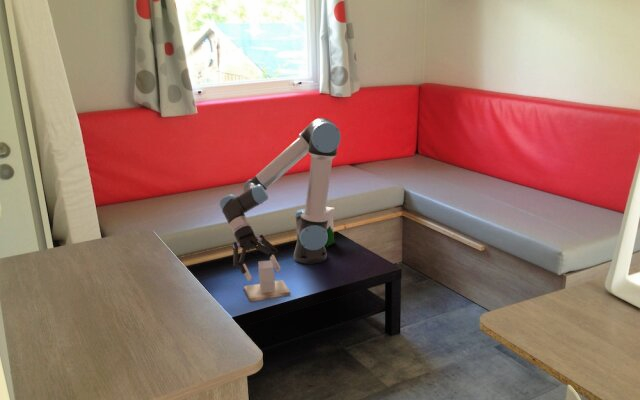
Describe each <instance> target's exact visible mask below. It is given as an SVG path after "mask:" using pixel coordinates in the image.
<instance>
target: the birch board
mask: <svg viewBox="0 0 640 400" xmlns="http://www.w3.org/2000/svg"><path fill="white" fill-rule="evenodd" d="M243 290H244V292H245V294H246V296H247V298H248V300H249V302H250V303H252V302H256V301H263V300H267V299H273V298H274V299H275V298H278V297H285V296H290V295H291V291H290V289H289V287H288V285H286V283H285V282H284V280H283V279H281V280H280V279H279V280H275V292H269V293H261V288H260V283H257V284H250V285H244V286H243Z"/></svg>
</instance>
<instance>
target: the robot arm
mask: <svg viewBox="0 0 640 400" xmlns="http://www.w3.org/2000/svg"><path fill="white" fill-rule="evenodd" d="M341 139H342V138H341V132H340V128H338V126H337V125H336V124H335V123H334V122H333V121H332V120H330V119H328V118H326V117H319V118H316V119H314V120H313V121H311V123H309V124H308V125H307V126H306V127H305V128H304V129H303V130H302V131H301V132H300V133H299V135H298V137H297V138H296V140H294V141H293V142H292V143H291V144H290V145H289V146H287V147H286V148H285V149H284V150H283V151H282V152H281V153H279V155H277V156H276V157H275V158H274V159H273V160H272V161H270V163H268V164H267V165H266V166H265V167H264V168H263V169H261V171H259V172H258V173H257V174H256V175H255V176H254V177H253V178H251V179H248V180H247V181H245V183H244V185H243V192H242V193H241V194H239V195H238V196H236V195H235V194H228V195H225V196H224V197H222V198H221V199H220V200H219V206H220V208H221V212H222V214H223V215H224V217H225V218H226V221H227V223H228V225H229V227H230V229H231V231H232V233H233V235H234V238H235V239H236V241H237V242H236V241H234V242H233V244H232V245H231V247H232V250H233V251H232V253H233V254H232V256H233V259H232V261H233V262H232V266H233V268H237V269H240V272H241V274H242V275H244V277H245V278H246V280H247V282H251V280H252V279H253V277H252V275H251V273H250V271H249V269H248V267H247V265H246V263H244V259H245V258H246V257H245V256H246V253H247V252H251V251H252V250H253V251H254V250H258V251H260V252H262V253H264V254H265V255H267V256H269V260H272V264H273V267H274V270H275V271H276V272H279V271H280V270H281V269H282V268H281V265H280V264H279V259H278V257H277V253H278V252H279V250H278V248H276V247H275V246H274V245H273V244H272V243H271V242H269V241H268V240H267V239H266V238H265V237H264V235H263V234H260V235H259V236H256V235H255V232H254V230H253V228H252V226H250V225H251V223H250V222H249V220H248V219H247V216H246V215H245V213H248V212H249V211H251V210H253V209H255V208H256V207H258V206H260V205H261V204H264V202H266V201H267V200H269V195H268V193H267V191H266V190H267V189H268V188H269V187H271V186H272V185H273V184H274V183H275V182H277V181H278V180H279V179H280V178H281V177H282V176H284V175H285V174H286V173H287V172H288V171H290V169H291V168H293V166H295V165H296V164H297V163H299V161H300V160H301V159H303V158H304V157H305V156H307V154H309V155H310V156H311V158H310V167H309V176H308V183H307V191H306V201H305V208H301V209H298V210H297V211H295V217H294V218H295V227H296V229H295V230H296V245H295V249H294V252H293V259H294V261H295V262H298V263H300V264H305V265H306V264H307V265H308V264H309V265H311V264H318V263H322V262H324V261H326V260H327V258H328V252H327V250H326V247H325V246H324V245H325V244H326V242H327V239H328V234H327V224H328V217H327V216H326V215H325V212H326V207H327V204H328V203H327V202H328V196H329V195H328V194H329V187H330V180H331V179H330V178H331V172H332V163H333V159H334V158H336V157H337V156H338V155H337V153H338V147H339V146H340V143H341ZM239 248H241V254H240V256H239Z"/></svg>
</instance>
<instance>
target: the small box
mask: <svg viewBox="0 0 640 400" xmlns="http://www.w3.org/2000/svg"><path fill="white" fill-rule="evenodd" d="M257 266H258V279H259V284H260V288H261V293H269V292H275V281H276V280H275V267H274V265H273V263H272V260H270V259H269V260H260V261H257Z"/></svg>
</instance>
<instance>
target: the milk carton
mask: <svg viewBox="0 0 640 400" xmlns="http://www.w3.org/2000/svg"><path fill="white" fill-rule="evenodd" d="M334 214H335V207H332V206H331V207H330V206H326V212H325V215H326V216H327V217H328V224H327V234H328V239H327V242H326V244H325V245H324V246H326V247H325V248H328V246H329V245H330V246H332V245H333V244H335V243H334V242H335V232H334V231H335V230H334V229H335V227H334V226H335V225H334V222H335V221H334ZM332 243H333V244H332ZM331 244H332V245H331ZM330 246H329V247H330Z"/></svg>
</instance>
